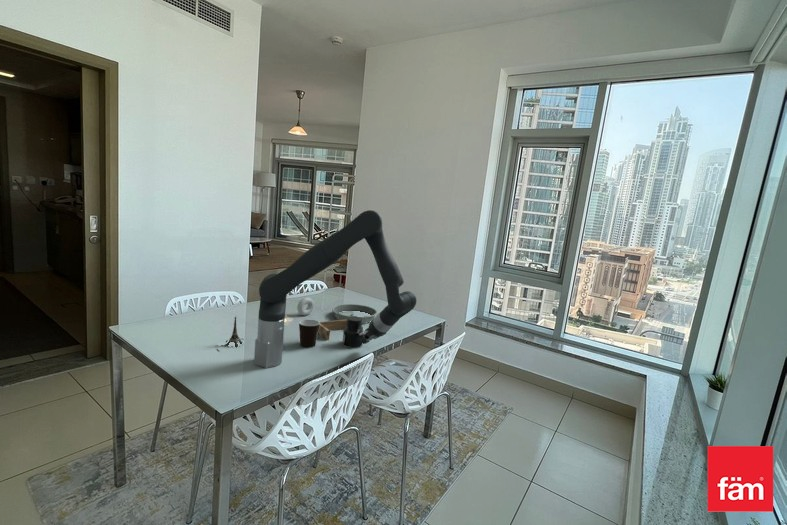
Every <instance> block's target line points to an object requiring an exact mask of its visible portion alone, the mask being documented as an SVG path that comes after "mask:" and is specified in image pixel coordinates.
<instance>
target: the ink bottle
mask: <svg viewBox="0 0 787 525" xmlns="http://www.w3.org/2000/svg"><path fill="white" fill-rule="evenodd" d="M349 316H350V315H349ZM346 326H347V327H346V328H345V329H343V331H342V332H343V334H342V345H343V346H345V347H348V348H352V349H354V348H355V349H356V348H360V347H362V346H363V343H362V339H361V338H360V334H359V331H363V332H364V331H365V330H364V328H363V329H362V328H361V327H362V326H363V324H362V318H360V317H357V316H350V317H347V325H346Z"/></svg>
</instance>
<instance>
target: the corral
mask: <svg viewBox="0 0 787 525" xmlns="http://www.w3.org/2000/svg"><path fill="white" fill-rule="evenodd" d="M319 322H320V324H319V329H318V333H319V334H318V335H319V336H321V338H323V337H324V338H325V339H324V338H323V339H324V340H325V341H329V340H330V334H331V331H330V330H332V331H339V329H341V330H344V329H345V328H346V327H347V326H346V325H347V319H345V320H338V319H336V320H335V319H334V320H326V321H319ZM361 328H362V329H363V330H364V326H363V325H362V327H361Z"/></svg>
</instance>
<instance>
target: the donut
mask: <svg viewBox="0 0 787 525" xmlns="http://www.w3.org/2000/svg"><path fill="white" fill-rule="evenodd" d="M305 305H307V306H306V308H305ZM296 307H297V308H296V310H297V313H298V314H299V315H300V316H303V317H304V316H308V315H310V314H311V313H312V312H313V311H314V307H315V301H314V300H313V299H312V298H311V297H307V296H306V297H302V298H301V299H300V300H299V301H298V304H297V306H296Z"/></svg>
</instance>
